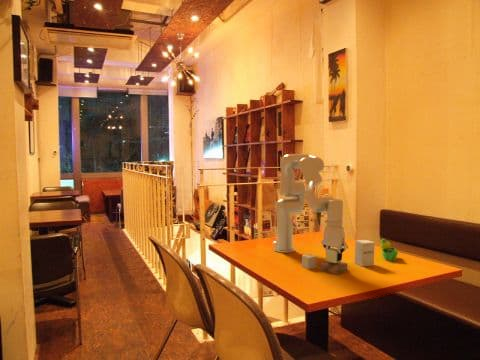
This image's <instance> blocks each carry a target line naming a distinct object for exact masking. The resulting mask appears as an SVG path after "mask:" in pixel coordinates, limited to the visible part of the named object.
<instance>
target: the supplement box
mask: <svg viewBox="0 0 480 360" xmlns="http://www.w3.org/2000/svg"><path fill="white" fill-rule="evenodd" d="M354 264H355V265H358V266H360V267H361V268H362V267H371V266H372V267H373V266H374V265H375V242H374V241H371V240H368V239H359V240H355V241H354Z"/></svg>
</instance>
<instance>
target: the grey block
mask: <svg viewBox="0 0 480 360" xmlns="http://www.w3.org/2000/svg"><path fill="white" fill-rule="evenodd" d="M317 265H318V256H316V255H314V254H311V253H309V254H302V255H301V267H302V268H304V269H307V270H311V269H317V268H318V266H317Z"/></svg>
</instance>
